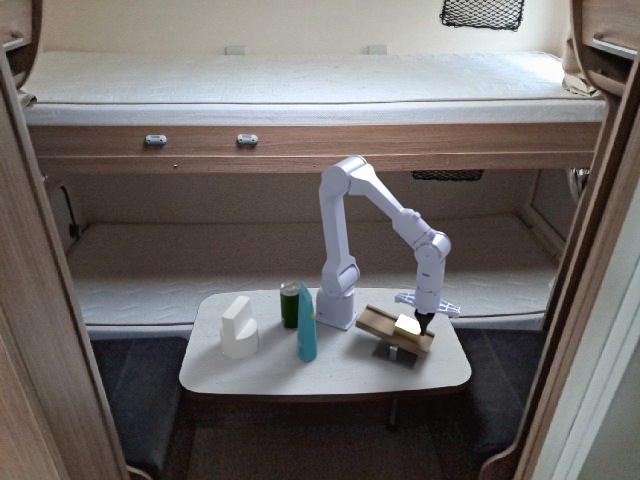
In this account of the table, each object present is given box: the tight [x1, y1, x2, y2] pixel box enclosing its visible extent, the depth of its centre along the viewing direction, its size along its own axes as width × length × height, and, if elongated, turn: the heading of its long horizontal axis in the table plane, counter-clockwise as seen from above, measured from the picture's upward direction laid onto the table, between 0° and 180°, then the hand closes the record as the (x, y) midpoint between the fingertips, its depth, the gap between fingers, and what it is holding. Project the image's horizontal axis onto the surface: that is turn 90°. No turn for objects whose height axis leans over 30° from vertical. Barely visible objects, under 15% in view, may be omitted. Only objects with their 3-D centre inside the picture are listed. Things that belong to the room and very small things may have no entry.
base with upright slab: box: [218, 295, 260, 360], centre depth 113 cm, size 9×9×12 cm
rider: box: [393, 314, 421, 344], centre depth 112 cm, size 6×4×3 cm
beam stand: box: [371, 338, 420, 371], centre depth 115 cm, size 10×13×4 cm
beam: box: [354, 303, 436, 359], centre depth 115 cm, size 18×8×3 cm, turn 62°
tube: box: [296, 279, 318, 362], centre depth 109 cm, size 7×5×19 cm, turn 26°
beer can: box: [279, 280, 301, 331], centre depth 120 cm, size 5×5×12 cm
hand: (423, 333), depth 111 cm, fingers closed, pressing on rider
